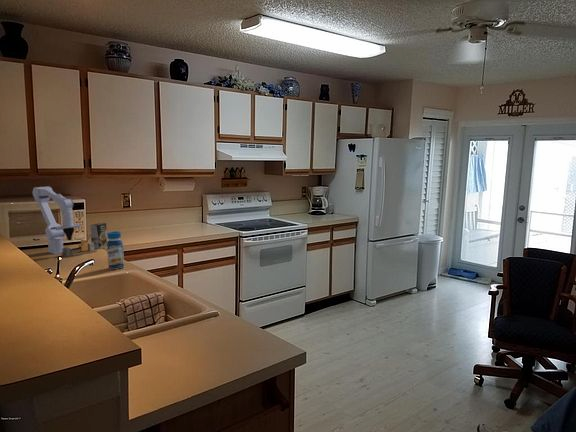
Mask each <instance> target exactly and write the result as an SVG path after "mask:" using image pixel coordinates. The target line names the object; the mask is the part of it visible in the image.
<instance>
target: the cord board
mask: <svg viewBox="0 0 576 432" xmlns="http://www.w3.org/2000/svg"><path fill="white" fill-rule="evenodd" d="M85 244H88V251H79V249H81V247H79V246H78V247H75V248H71V247H68V246H67V247H63V248H62V251H63V252H62V253H61V256H63V257H66V258H73V257H77V256H83V255H87V254H93V252H94V253H97V251H98V249H97V250H96V249H95V246H94V243H92V242H91V241H89V242H85Z"/></svg>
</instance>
